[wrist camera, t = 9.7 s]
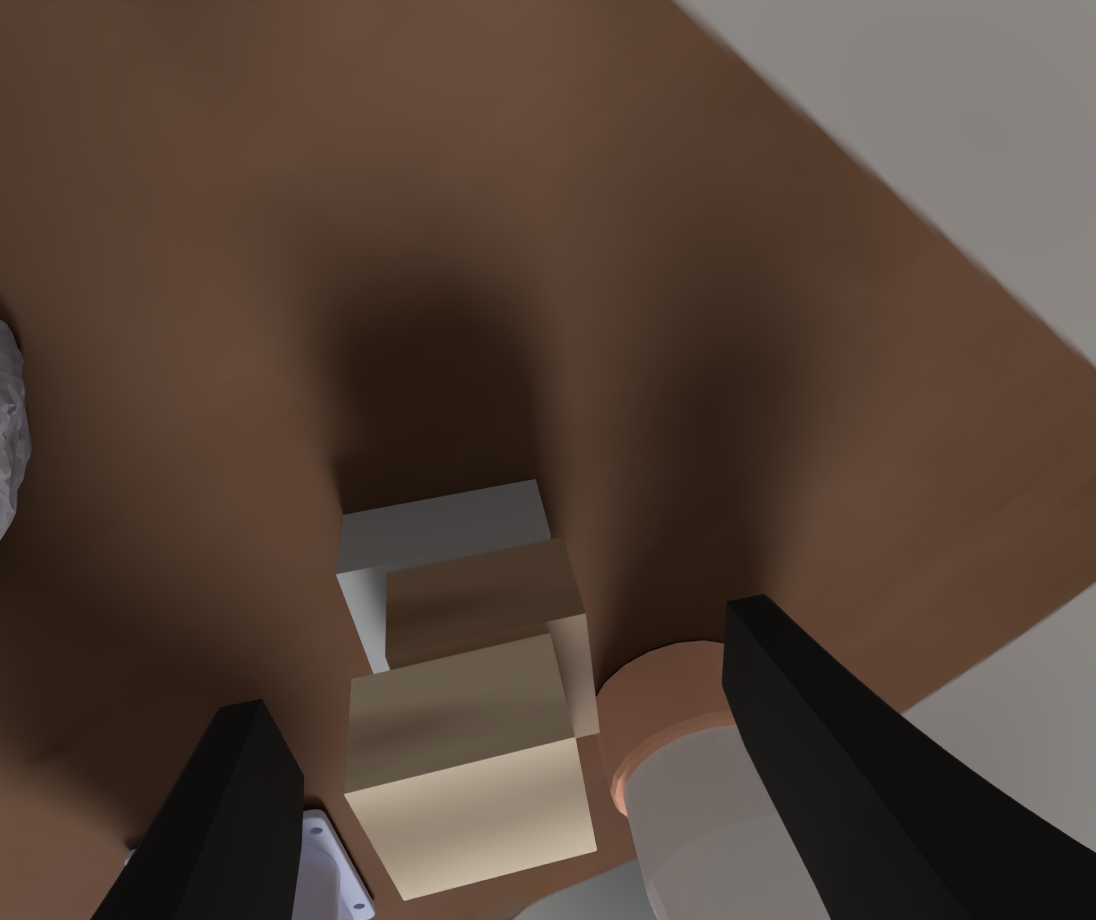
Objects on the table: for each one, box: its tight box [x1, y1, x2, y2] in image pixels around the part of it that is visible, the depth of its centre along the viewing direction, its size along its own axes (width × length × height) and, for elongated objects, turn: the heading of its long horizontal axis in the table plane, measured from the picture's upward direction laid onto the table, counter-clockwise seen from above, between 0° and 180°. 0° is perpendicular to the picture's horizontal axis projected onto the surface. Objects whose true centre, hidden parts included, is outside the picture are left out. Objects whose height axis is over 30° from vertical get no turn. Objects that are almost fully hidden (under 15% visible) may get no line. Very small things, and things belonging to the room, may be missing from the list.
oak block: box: [344, 633, 597, 901], centre depth 17 cm, size 5×5×3 cm
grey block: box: [336, 479, 551, 674], centre depth 22 cm, size 6×6×3 cm
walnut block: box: [385, 537, 600, 738], centre depth 20 cm, size 5×5×3 cm
